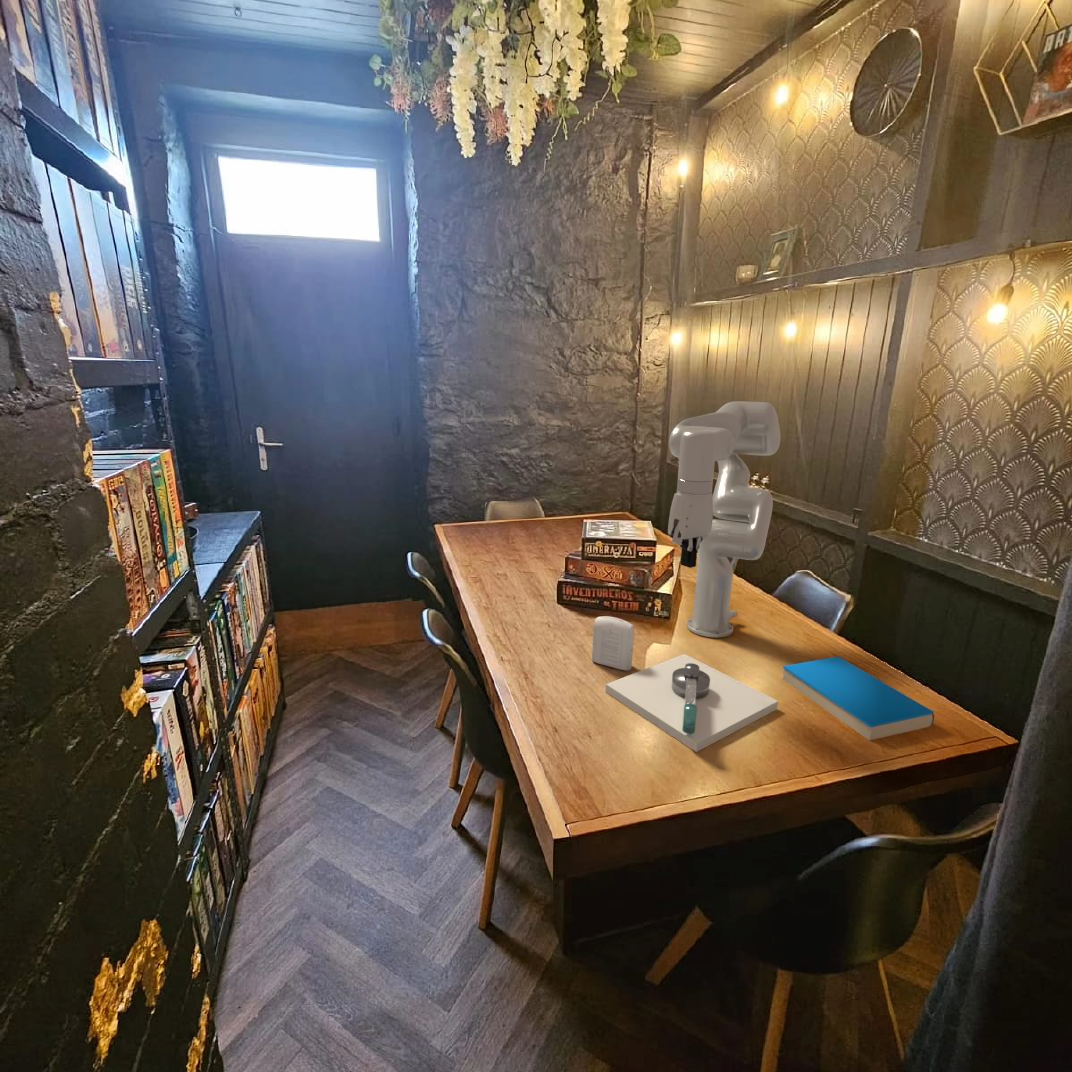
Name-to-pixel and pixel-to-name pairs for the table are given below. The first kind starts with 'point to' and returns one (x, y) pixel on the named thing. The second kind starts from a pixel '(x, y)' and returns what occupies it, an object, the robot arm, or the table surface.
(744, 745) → the table surface
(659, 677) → the stand base
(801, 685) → the book
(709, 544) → the robot arm
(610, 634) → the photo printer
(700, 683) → the crank handle
